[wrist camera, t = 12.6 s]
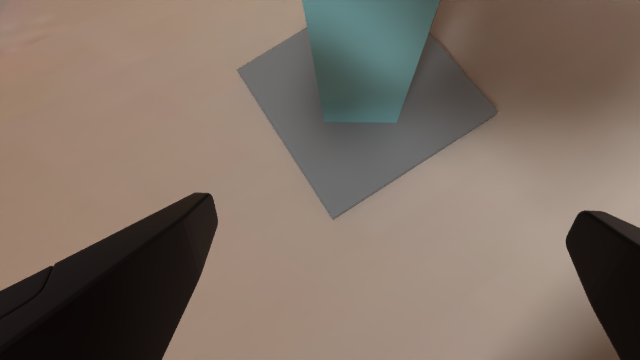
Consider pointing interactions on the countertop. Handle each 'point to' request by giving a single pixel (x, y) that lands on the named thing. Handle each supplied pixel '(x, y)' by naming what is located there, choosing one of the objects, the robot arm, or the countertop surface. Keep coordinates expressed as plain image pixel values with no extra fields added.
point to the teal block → (366, 54)
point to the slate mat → (362, 137)
